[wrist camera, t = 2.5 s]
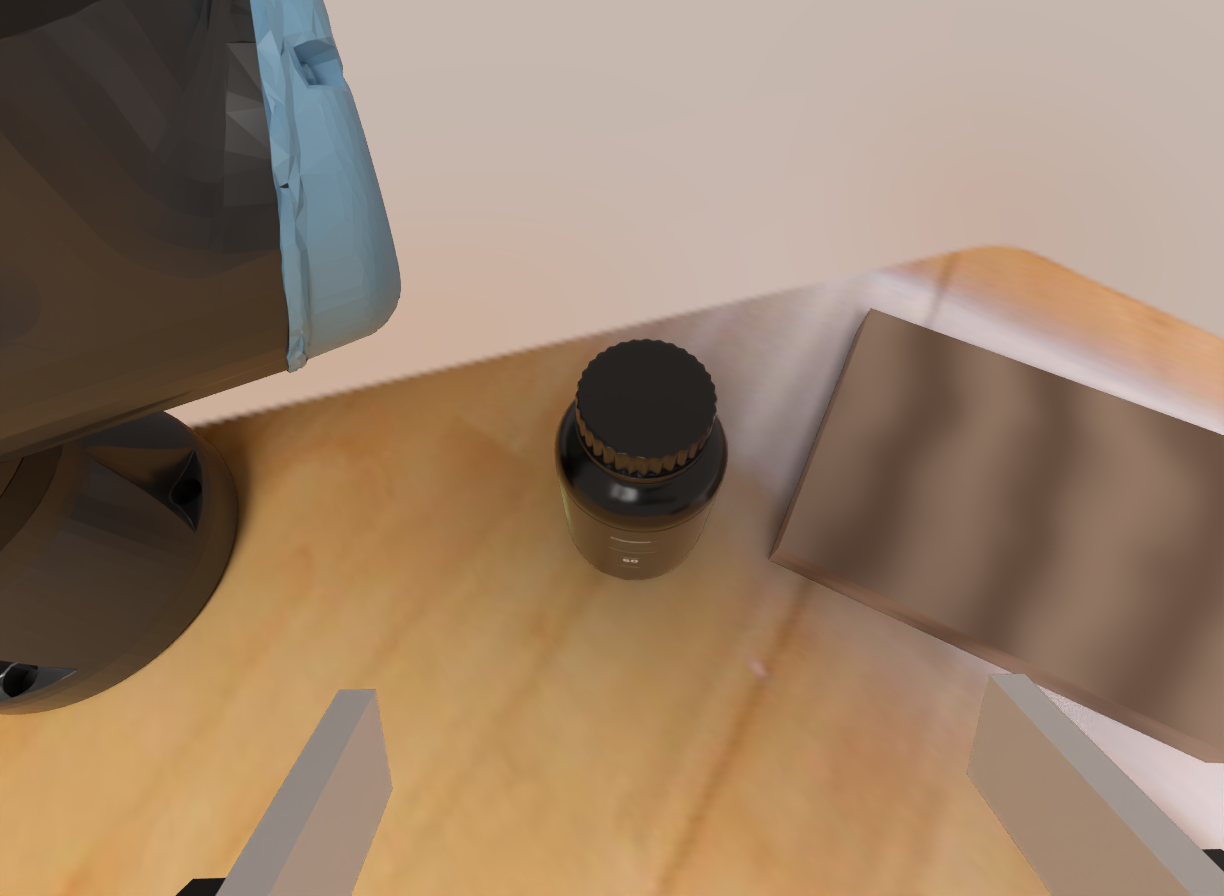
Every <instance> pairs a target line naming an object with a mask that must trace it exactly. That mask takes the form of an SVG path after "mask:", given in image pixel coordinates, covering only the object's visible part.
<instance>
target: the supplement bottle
mask: <svg viewBox="0 0 1224 896" xmlns="http://www.w3.org/2000/svg"><path fill="white" fill-rule="evenodd" d="M577 387H578V391H577V393H576V396H575V399H574V400H573V401H572V402H571V404H570V405H569V406H568V408H567V409H566V411H565V412H564V414H563V416H562V418H561V421H560V423H559V426H558V429H557V433H556V439H555V462H556V468H557V473H558V478H559V483H560V488H561V493H562V498H563V503H564V508H565V513H566V518H567V523H568V527H569V531H570V534H571V537H572V539H573V541H574V543H575V545H576V547H577V549H578V550H579V552H580V553H581V554H582V555H583V557H584V558H585V559H586V560H587V561H588V562H589V563H590V564H592V565H593V566H594V567H596V568H597V569H599V570H600V571H602V572H604V573H606V574H608V575H611V576H614V577H617V578H621V579H628V580H643V579H649V578H654V577H657V576H660V575H662V574H664V573H667V572H668V571H670V570H672V569H673V568H675V567H676V566H677V565H679V564H680V563H681V562H682V561H683V560H684V559H685V558H686V557H687V555H688V554H689V553H690V551H691V550H692V548H693V547H694V545H695V543H696V541H697V539H698V537H699V535H700V532H701V530H702V528H703V526H704V523H705V521H706V519H707V516H708V514H709V512H710V509H711V507H712V505H713V502H714V500H715V498H716V495H717V493H718V491H719V488H720V486H721V484H722V481H723V478H724V475H725V471H726V467H727V461H728V444H727V437H726V433H725V429H724V426H723V424H722V422H721V419H720V417H719V415H718V414H717V410H716V403H717V396H716V394H715V385H714V384H713V383H712V382H711V375H710V374H709V373H708V372H706V371H705V367H704V365H703V364H701V363H699V362H698V361H697V359H696V357H695V356H693V355H691V354H688V353H687V351H686V350H685V349H682V348H678V347H677V346H675V345H674V344H673V343H665V342H663V341H661V340H655V341H652V340H650V339H644V340H631V341H629V342H621V343H619V344H618V345H616V346H612V347H609V348H608V349H607V350H606V351H605V352H601V353H599V354H598V355H597V357H596V359H594V360H592V361H590V362H589V365H588V368H587V369H585V370H584V371H583V372H582V378H581V379H580V381H579V382H578V385H577Z"/></svg>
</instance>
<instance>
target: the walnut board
mask: <svg viewBox="0 0 1224 896" xmlns="http://www.w3.org/2000/svg"><path fill="white" fill-rule="evenodd" d="M768 560H770V561H772V562H775V563H777V564H779V565H781V566H783V567H785V568H788V569H790V570H792V571H794V572H796V573H798V574H800V575H803V576H805V577H807V578H809V579H811V580H813V581H816V582H818V583H820V584H822V585H824V586H826V587H829V588H831V589H833V590H835V591H837V592H839V593H841V594H844V595H846V596H848V597H850V598H852V599H854V600H857V601H859V602H861V603H863V604H865V605H867V606H869V607H872V608H874V609H876V610H878V611H880V612H882V613H885V614H887V615H889V616H891V617H893V618H895V619H898V620H900V621H902V622H904V623H906V624H908V625H910V626H913V627H915V628H917V629H919V630H921V631H923V632H926V633H928V634H930V635H932V636H934V637H936V638H939V639H941V640H943V641H945V642H947V643H949V644H951V645H954V646H956V647H958V648H960V649H962V650H964V651H967V652H969V653H971V654H973V655H975V656H977V657H980V658H982V659H984V660H986V661H988V662H990V663H992V664H995V665H997V666H999V667H1001V668H1003V669H1005V670H1008V671H1010V672H1012V673H1014V674H1025V675H1026V676H1027V677H1028V678H1029V679H1030V680H1031V681H1032V682H1033V683H1036V684H1038V685H1040V686H1042V687H1044V688H1046V689H1049V690H1051V691H1053V692H1055V693H1057V694H1059V695H1061V696H1064V697H1066V698H1068V699H1070V700H1072V701H1074V702H1077V703H1079V704H1081V705H1083V706H1085V707H1087V708H1090V709H1092V710H1094V711H1096V712H1098V713H1100V714H1102V715H1105V716H1107V717H1109V718H1111V719H1113V720H1115V721H1118V722H1120V723H1122V724H1124V725H1126V726H1128V727H1130V728H1133V729H1135V730H1137V731H1139V732H1141V733H1143V734H1146V735H1148V736H1150V737H1152V738H1154V739H1156V740H1159V741H1161V742H1163V743H1165V744H1167V745H1169V746H1171V747H1174V748H1176V749H1178V750H1180V751H1182V752H1184V753H1187V754H1189V755H1191V756H1193V757H1195V758H1197V759H1200V760H1202V761H1204V762H1206V763H1224V435H1221V434H1218V433H1216V432H1213V431H1210V430H1207V429H1205V428H1202V427H1199V426H1196V425H1193V424H1191V423H1188V422H1185V421H1182V420H1180V419H1177V418H1174V417H1171V416H1168V415H1166V414H1163V413H1160V412H1157V411H1155V410H1152V409H1149V408H1146V407H1144V406H1141V405H1138V404H1135V403H1132V402H1130V401H1127V400H1124V399H1121V398H1119V397H1116V396H1113V395H1110V394H1107V393H1105V392H1102V391H1099V390H1096V389H1094V388H1091V387H1088V386H1085V385H1082V384H1080V383H1077V382H1074V381H1071V380H1069V379H1066V378H1063V377H1060V376H1058V375H1055V374H1052V373H1049V372H1046V371H1044V370H1041V369H1038V368H1035V367H1033V366H1030V365H1027V364H1024V363H1021V362H1019V361H1016V360H1013V359H1010V358H1008V357H1005V356H1002V355H999V354H996V353H994V352H991V351H988V350H985V349H983V348H980V347H977V346H974V345H971V344H969V343H966V342H963V341H960V340H958V339H955V338H952V337H949V336H947V335H944V334H941V333H938V332H935V331H933V330H930V329H927V328H924V327H922V326H919V325H916V324H913V323H910V322H908V321H905V320H902V319H899V318H897V317H894V316H891V315H888V314H885V313H883V312H880V311H877V310H874V309H872V308H871V309H870V311H869V312H868V314H867V316H866V317H865V319H864V321H863V322H862V324H861V326H860V327H859V329H858V331H857V333H856V336H855V339H854V341H853V344H852V346H851V349H850V351H849V354H848V357H847V359H846V362H845V364H844V367H843V369H842V372H841V375H840V377H839V380H838V382H837V385H836V387H835V390H834V392H833V395H832V398H831V400H830V403H829V405H828V408H827V410H826V413H825V416H824V418H823V421H822V423H821V426H820V428H819V431H818V434H817V436H816V439H815V441H814V444H813V446H812V449H811V452H810V454H809V457H808V459H807V462H806V464H805V467H804V470H803V472H802V475H801V477H800V480H799V482H798V485H797V488H796V490H795V493H794V495H793V498H792V500H791V503H790V505H789V508H788V511H787V513H786V516H785V518H784V521H783V523H782V526H781V529H780V531H779V534H778V536H777V539H776V541H775V544H774V547H773V549H772V552H771V554H770V557H769V559H768Z"/></svg>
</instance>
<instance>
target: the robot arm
mask: <svg viewBox="0 0 1224 896" xmlns="http://www.w3.org/2000/svg"><path fill="white" fill-rule="evenodd" d="M342 74H343V65H342V62H341V59H340V56H339V53H338V50H337V47H336V44H335V41H334V38H333V35H332V32H331V27H330V22H329V18H328V14H327V11H326V8H325V4H324V1H323V0H0V714H6V715H14V714H30V713H38V712H43V711H49V710H53V709H57V708H61V707H64V706H67V705H71V704H74V703H77V702H79V701H82V700H84V699H87V698H89V697H92V696H94V695H96V694H98V693H100V692H103V691H104V690H106V689H108V688H110V687H112V686H114V685H116V684H117V683H119V682H121V681H122V680H124V679H126V678H127V677H129V676H130V675H132V674H133V673H135V672H136V671H138V670H139V669H141V668H142V667H143V666H145V665H146V664H147V663H149V662H150V661H151V660H153V659H154V658H155V657H156V656H157V655H158V654H160V653H161V652H162V651H163V650H164V649H165V648H166V647H168V646H169V645H170V644H171V643H172V642H173V641H174V640H175V639H176V638H177V637H178V636H179V635H180V634H181V633H182V631H183V630H184V629H185V628H186V627H187V626H188V625H189V623H190V622H191V621H192V620H193V619H194V617H195V616H196V615H197V614H198V612H199V611H200V610H201V608H202V607H203V605H204V604H205V602H206V601H207V599H208V598H209V596H210V595H211V593H212V591H213V590H214V588H215V586H216V584H217V582H218V580H219V579H220V577H221V575H222V572H223V570H224V568H225V565H226V563H227V560H228V558H229V555H230V552H231V548H232V545H233V541H234V536H235V531H236V524H237V497H236V490H235V486H234V482H233V479H232V476H231V473H230V471H229V469H228V467H227V465H226V463H225V461H224V460H223V458H222V457H221V455H220V454H219V453H218V451H217V450H216V449H215V448H214V447H213V446H212V445H211V444H210V443H209V442H208V441H207V440H205V439H204V438H203V437H201V436H200V435H199V434H197V433H196V432H195V431H193V430H192V429H191V428H189V427H188V426H187V425H185V424H184V423H182V422H181V421H179V420H178V419H177V418H175V417H173V416H172V415H170V414H168V413H166V412H164V410H168V409H171V408H174V407H176V406H180V405H183V404H186V403H188V402H192V401H194V400H198V399H201V398H204V397H207V396H209V395H213V394H216V393H219V392H222V391H225V390H228V389H231V388H234V387H237V386H240V385H243V384H246V383H249V382H252V381H255V380H258V379H261V378H264V377H267V376H270V375H273V374H276V373H279V372H282V371H285V370H287V371H288V372H289V373H291V372H294V371H297V369H298V368H302V367H303V366H304V365H305V364H306V362H307V360H308V359H310V358H312V357H315V356H317V355H320V354H323V353H325V352H328V351H330V350H333V349H335V348H338V347H341V346H343V345H346V344H348V343H351V342H353V341H356V340H358V339H361V338H364V337H366V336H369V335H371V334H373V333H375V332H376V331H377V330H378V329H379V328H381V327H382V326H383V325H384V324H385V323H386V322H387V321H388V319H389V318H390V316H391V315H392V314H393V312H394V310H395V308H396V306H397V303H398V300H399V298H400V291H401V283H400V282H401V281H400V272H399V266H398V261H397V257H396V253H395V248H394V243H393V239H392V235H391V230H390V227H389V223H388V218H387V214H386V211H385V207H384V203H383V199H382V195H381V191H380V188H379V184H378V180H377V177H376V173H375V170H374V166H373V163H372V159H371V156H370V152H369V149H368V145H367V142H366V138H365V135H364V131H363V128H362V125H361V122H360V118H359V115H358V112H357V109H356V106H355V102H354V99H353V96H352V93H351V91H350V88H349V86H348V84H347V82H346V81H345V79H344V78H343V75H342ZM967 775H968V777H969V778H970V779H971V781H972V782H973V784H974V785H975V787H976V788H977V789H978V791H979V792H980V794H981V795H982V797H983V798H984V799H985V801H986V802H987V804H988V805H989V807H990V808H991V809H992V811H993V812H994V814H995V815H996V817H997V818H998V819H999V821H1000V822H1001V824H1002V825H1003V827H1004V828H1005V829H1006V831H1007V832H1008V834H1009V835H1010V837H1011V838H1012V839H1013V841H1014V842H1015V844H1016V845H1017V847H1018V848H1019V849H1020V851H1021V852H1022V854H1023V855H1024V857H1025V858H1026V859H1027V861H1028V862H1029V864H1030V865H1031V867H1032V868H1033V869H1034V871H1035V872H1036V874H1037V875H1038V877H1039V878H1040V879H1041V881H1042V882H1043V884H1044V885H1045V887H1046V888H1047V889H1048V891H1049V892H1050V894H1051V895H1052V896H1224V851H1223V850H1221V849H1206V850H1201V849H1200V848H1199V847H1198V846H1197V845H1196V844H1195V843H1194V842H1193V841H1192V840H1191V839H1190V838H1189V837H1188V836H1187V835H1186V834H1185V833H1184V832H1183V831H1182V830H1181V829H1180V828H1179V827H1178V826H1177V825H1176V824H1175V823H1174V822H1173V821H1172V820H1171V819H1170V818H1169V817H1168V816H1167V815H1166V814H1165V813H1164V812H1163V811H1162V810H1161V809H1160V808H1159V807H1158V806H1157V805H1156V804H1155V803H1154V802H1153V801H1152V800H1151V799H1150V798H1149V797H1148V796H1147V795H1146V794H1145V793H1144V792H1143V791H1142V790H1141V789H1140V788H1139V787H1138V786H1137V785H1136V784H1135V783H1134V782H1133V781H1132V780H1131V779H1130V778H1129V777H1128V776H1127V775H1126V774H1125V773H1124V772H1123V771H1122V770H1121V769H1120V768H1119V767H1118V766H1117V765H1116V764H1115V763H1114V762H1113V761H1112V760H1111V759H1110V758H1109V757H1108V756H1107V755H1106V754H1105V753H1104V752H1103V751H1102V750H1101V749H1100V748H1099V747H1098V746H1097V745H1096V744H1095V743H1094V742H1093V741H1092V740H1091V739H1090V738H1089V737H1088V736H1087V735H1086V734H1085V733H1084V732H1083V731H1082V730H1081V729H1080V728H1079V727H1078V726H1077V725H1076V724H1075V723H1074V722H1073V721H1072V720H1071V719H1070V718H1069V717H1068V716H1067V715H1066V714H1064V713H1063V712H1062V711H1061V710H1060V709H1059V708H1058V707H1057V706H1056V705H1055V704H1054V703H1053V702H1052V701H1051V700H1050V699H1049V698H1048V697H1047V696H1046V695H1045V694H1044V693H1043V692H1042V691H1041V690H1040V689H1039V688H1038V687H1037V686H1036V685H1035V684H1034V683H1033V682H1032V681H1031V680H1030V679H1029V678H1028V677H1027V676H1026V675H1025V674H994V675H989V678H988V682H987V686H986V691H985V695H984V700H983V704H982V708H981V713H980V717H979V722H978V726H977V730H976V735H975V739H974V744H973V748H972V752H971V757H970V761H969V765H968V770H967ZM392 789H393V788H392V782H391V776H390V770H389V765H388V759H387V753H386V747H385V742H384V736H383V730H382V724H381V719H380V713H379V707H378V701H377V695H376V690H375V689H362V690H339V691H338V693H337V694H336V696H335V698H334V699H333V701H332V703H331V704H330V706H329V708H328V709H327V711H326V713H325V714H324V716H323V718H322V719H321V721H320V723H319V724H318V726H317V728H316V729H315V731H314V733H313V734H312V736H311V738H310V739H309V741H308V743H307V744H306V746H305V748H304V749H303V751H302V753H301V754H300V756H299V758H298V759H297V761H296V763H295V764H294V766H293V768H292V769H291V771H290V773H289V774H288V776H287V778H286V779H285V781H284V783H283V784H282V786H281V788H280V789H279V791H278V793H277V794H276V796H275V798H274V799H273V801H272V803H271V804H270V806H269V808H268V809H267V811H266V813H265V814H264V816H263V818H262V819H261V821H260V823H259V824H258V826H257V828H256V829H255V831H254V833H253V834H252V836H251V838H250V839H249V841H248V843H247V844H246V846H245V848H244V849H243V851H242V853H241V854H240V856H239V858H238V859H237V861H236V863H235V864H234V866H233V868H232V869H231V871H230V873H229V874H228V876H227V878H208V879H192V880H191V881H190V882H189V883H188V884H187V885H186V886H185V887H184V888H183V889H182V890H181V891H180V892H179V893H178V894H177V895H176V896H351V894H352V891H353V889H354V886H355V884H356V881H357V879H358V876H359V874H360V871H361V868H362V866H363V863H364V861H365V858H366V856H367V853H368V851H369V848H370V845H371V843H372V840H373V838H374V835H375V833H376V830H377V827H378V825H379V822H380V820H381V817H382V815H383V812H384V810H385V807H386V804H387V802H388V799H389V797H390V794H391V792H392Z"/></svg>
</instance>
